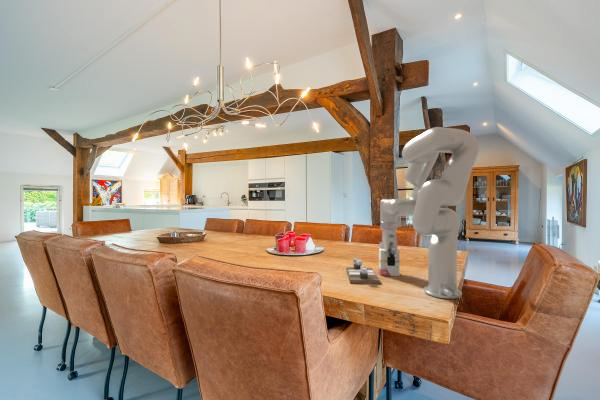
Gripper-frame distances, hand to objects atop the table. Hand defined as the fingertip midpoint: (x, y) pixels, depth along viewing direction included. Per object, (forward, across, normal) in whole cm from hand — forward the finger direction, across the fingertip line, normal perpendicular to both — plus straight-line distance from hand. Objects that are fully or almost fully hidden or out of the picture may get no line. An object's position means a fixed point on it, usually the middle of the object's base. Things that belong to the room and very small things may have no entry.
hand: (388, 263), depth 134 cm
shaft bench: (+5, -4, +13) cm, 15 cm away
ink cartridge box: (+6, 0, 0) cm, 6 cm away
